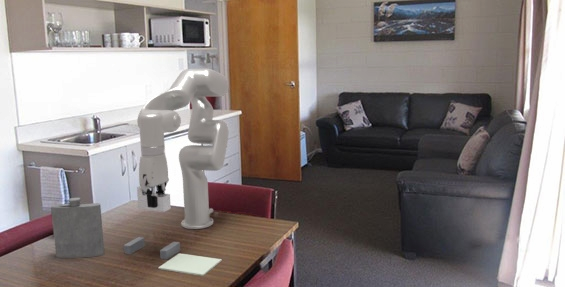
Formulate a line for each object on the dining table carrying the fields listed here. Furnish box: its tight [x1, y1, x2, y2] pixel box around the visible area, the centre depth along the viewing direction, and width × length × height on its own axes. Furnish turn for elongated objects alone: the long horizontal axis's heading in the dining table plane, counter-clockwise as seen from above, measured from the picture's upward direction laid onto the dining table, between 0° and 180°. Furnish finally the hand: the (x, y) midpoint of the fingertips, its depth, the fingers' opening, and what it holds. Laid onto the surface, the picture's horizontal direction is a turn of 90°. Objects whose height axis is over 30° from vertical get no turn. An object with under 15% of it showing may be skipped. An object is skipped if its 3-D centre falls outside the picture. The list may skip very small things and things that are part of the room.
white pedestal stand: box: [136, 185, 172, 213], centre depth 167 cm, size 4×10×8 cm, turn 68°
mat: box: [158, 252, 223, 277], centre depth 161 cm, size 12×16×1 cm
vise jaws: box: [123, 236, 181, 261], centre depth 171 cm, size 8×17×3 cm, turn 69°
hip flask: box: [50, 197, 106, 259], centre depth 169 cm, size 16×4×20 cm, turn 93°
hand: (156, 204), depth 167 cm, fingers closed on white pedestal stand, 4 cm apart
